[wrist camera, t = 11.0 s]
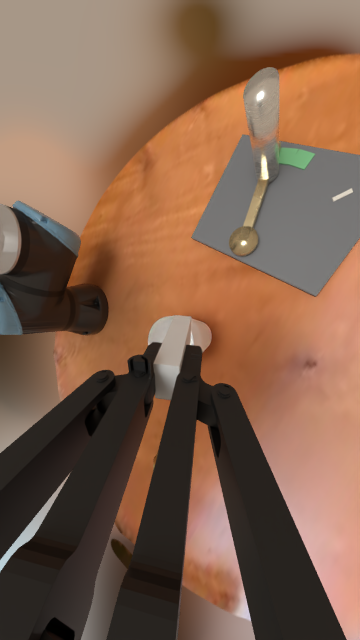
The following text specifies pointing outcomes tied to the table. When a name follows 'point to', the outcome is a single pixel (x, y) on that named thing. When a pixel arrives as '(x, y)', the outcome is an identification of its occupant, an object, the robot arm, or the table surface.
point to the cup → (198, 332)
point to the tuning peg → (260, 150)
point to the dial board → (289, 213)
